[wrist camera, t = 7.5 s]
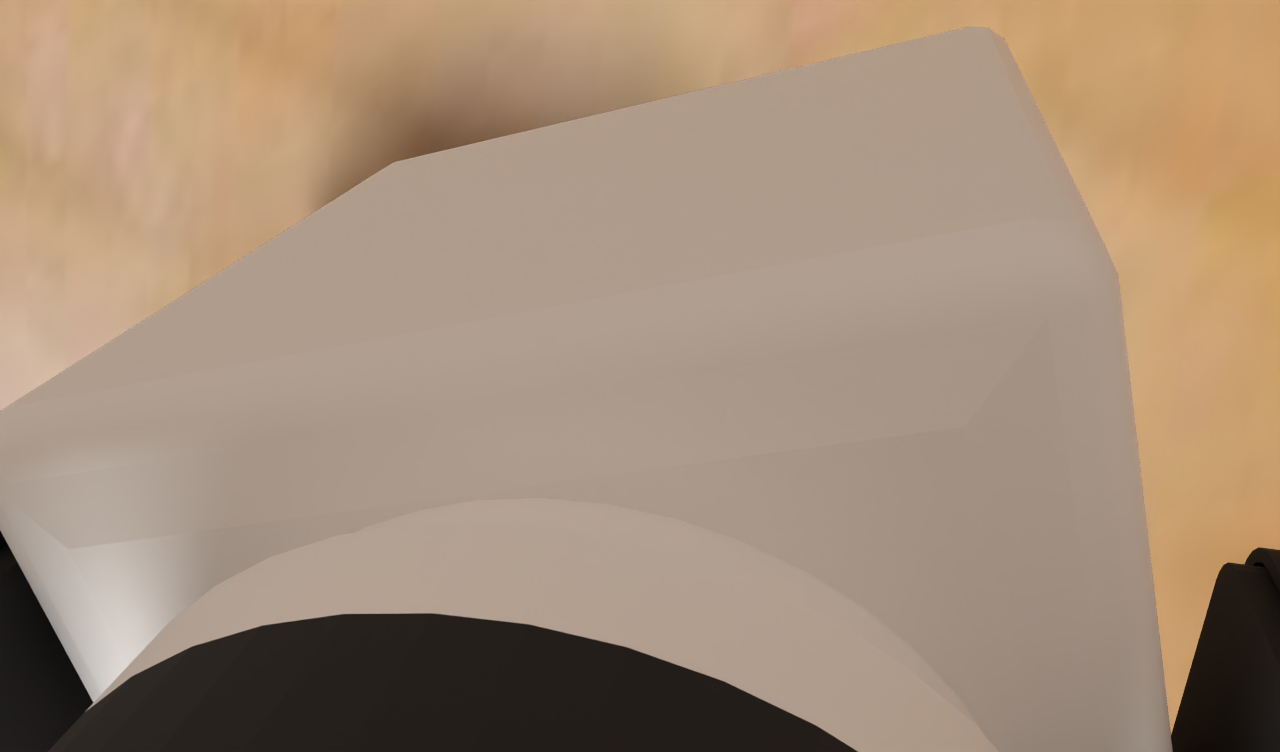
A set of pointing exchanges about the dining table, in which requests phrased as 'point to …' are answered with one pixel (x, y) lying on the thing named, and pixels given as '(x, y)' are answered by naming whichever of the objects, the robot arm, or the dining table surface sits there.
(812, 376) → the medicine bottle
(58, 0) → the dining table surface
